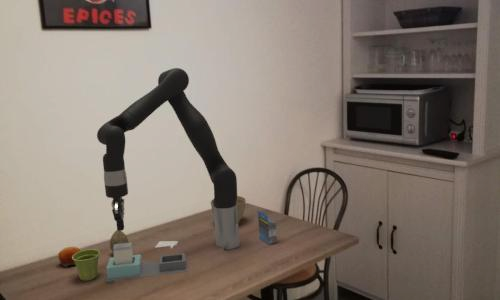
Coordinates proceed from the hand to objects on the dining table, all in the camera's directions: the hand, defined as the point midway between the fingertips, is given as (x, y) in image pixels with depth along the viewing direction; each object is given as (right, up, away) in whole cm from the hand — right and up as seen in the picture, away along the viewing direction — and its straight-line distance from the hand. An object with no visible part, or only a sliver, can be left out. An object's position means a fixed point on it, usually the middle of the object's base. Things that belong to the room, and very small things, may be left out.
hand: (120, 229), depth 163 cm
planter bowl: (+36, -6, +51) cm, 63 cm away
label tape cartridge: (+53, -10, +28) cm, 61 cm away
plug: (+1, -16, +3) cm, 16 cm away
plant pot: (-12, -18, +2) cm, 22 cm away
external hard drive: (+11, -13, +24) cm, 30 cm away
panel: (+9, -16, +4) cm, 19 cm away
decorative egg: (-6, -14, +22) cm, 27 cm away
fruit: (-23, -16, +14) cm, 32 cm away
